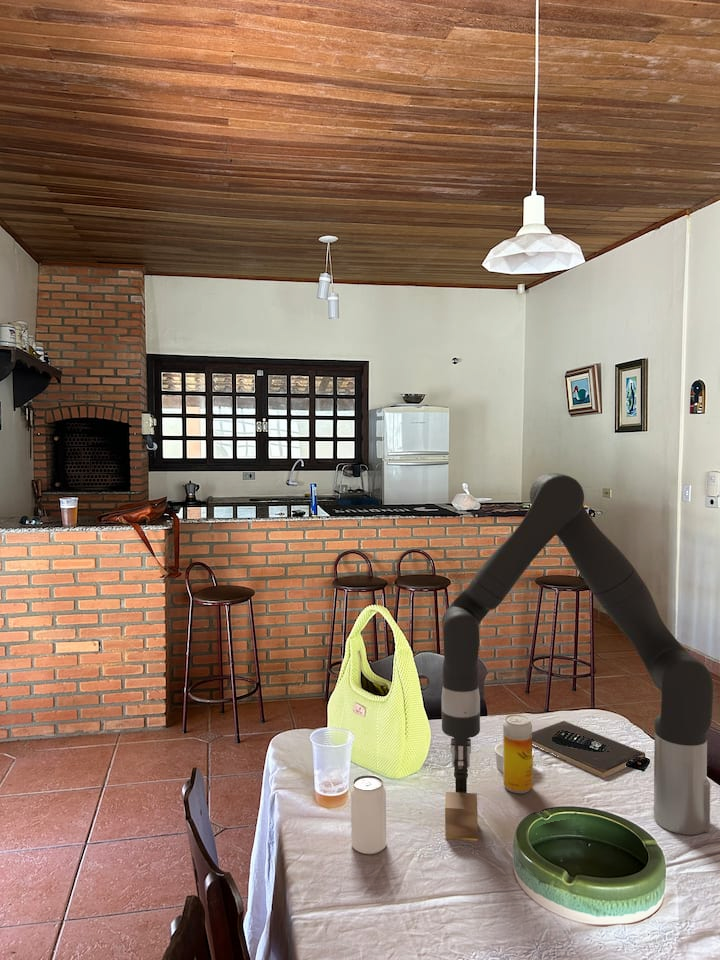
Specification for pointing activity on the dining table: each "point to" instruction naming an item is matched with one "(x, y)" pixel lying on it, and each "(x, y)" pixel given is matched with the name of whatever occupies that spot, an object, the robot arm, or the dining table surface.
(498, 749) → the ramekin
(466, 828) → the cube
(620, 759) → the hardcover book
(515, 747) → the beer can
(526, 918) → the dining table surface
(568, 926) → the dining table surface
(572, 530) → the robot arm
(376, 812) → the can
